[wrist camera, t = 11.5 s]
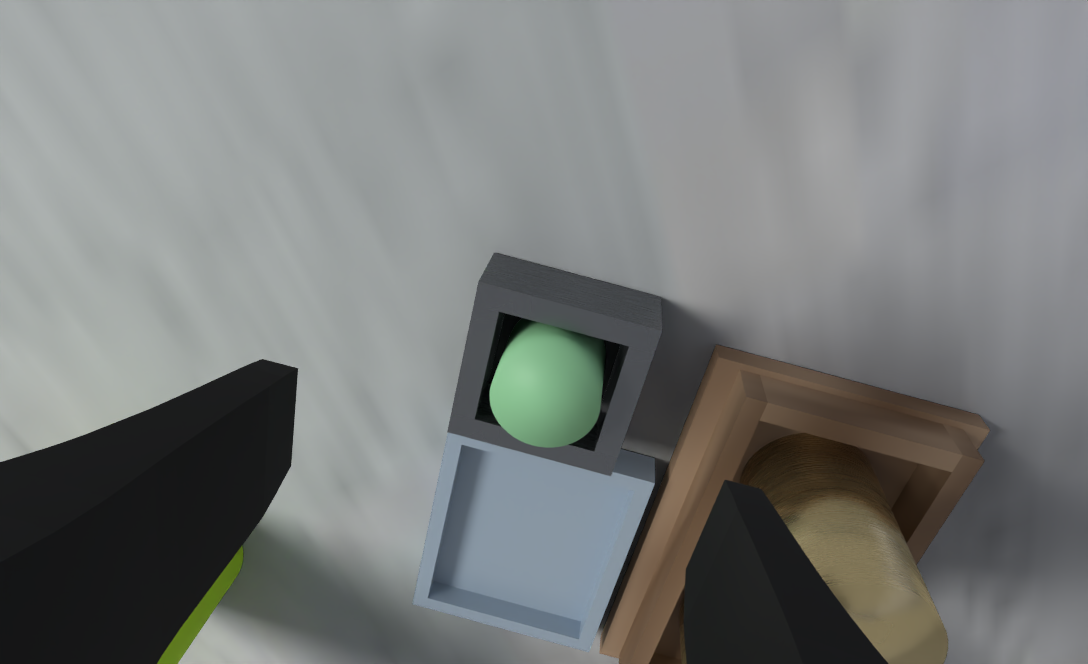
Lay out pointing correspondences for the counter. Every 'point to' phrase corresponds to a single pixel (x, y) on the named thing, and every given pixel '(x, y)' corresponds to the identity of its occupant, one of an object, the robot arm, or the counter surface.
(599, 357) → the button
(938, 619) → the cylinder
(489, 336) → the button housing
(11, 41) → the counter surface
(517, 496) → the light blue shallow tray
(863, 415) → the wooden tray
